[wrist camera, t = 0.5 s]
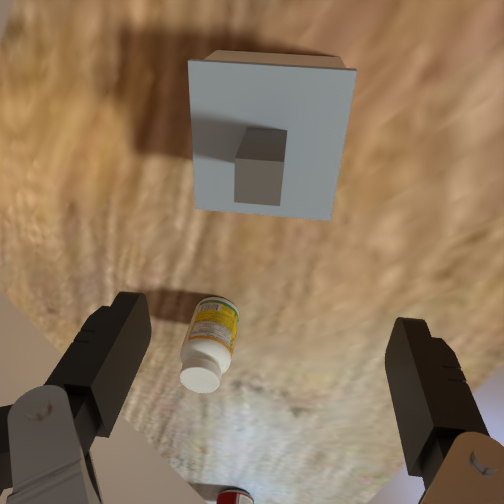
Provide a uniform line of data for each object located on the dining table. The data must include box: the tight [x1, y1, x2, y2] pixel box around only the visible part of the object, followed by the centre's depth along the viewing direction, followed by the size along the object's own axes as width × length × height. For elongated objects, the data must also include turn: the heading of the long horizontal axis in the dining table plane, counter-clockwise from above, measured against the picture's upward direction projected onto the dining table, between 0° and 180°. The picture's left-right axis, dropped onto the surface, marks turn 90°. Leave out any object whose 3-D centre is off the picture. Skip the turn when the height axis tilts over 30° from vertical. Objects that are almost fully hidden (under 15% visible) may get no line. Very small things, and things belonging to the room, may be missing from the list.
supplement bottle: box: [180, 297, 239, 393], centre depth 41 cm, size 5×5×10 cm
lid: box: [188, 59, 357, 221], centre depth 23 cm, size 10×10×6 cm
